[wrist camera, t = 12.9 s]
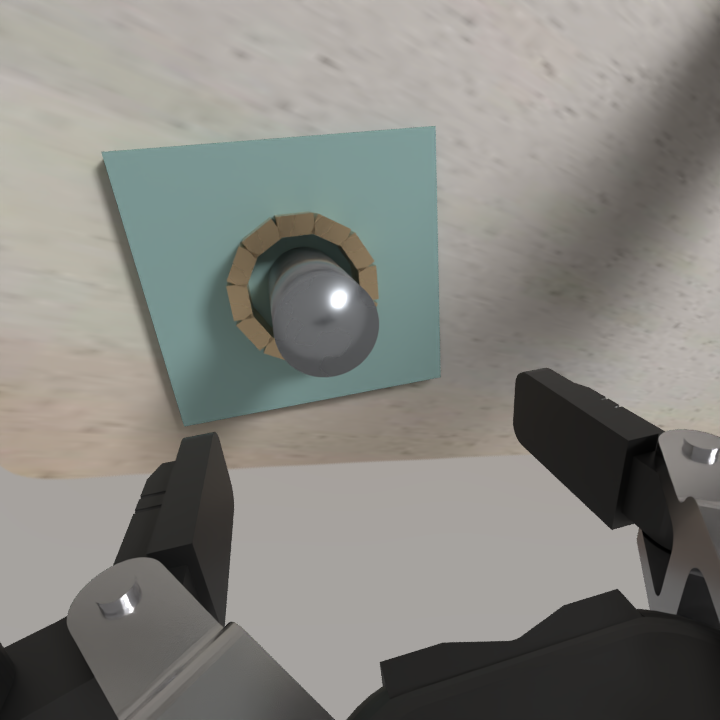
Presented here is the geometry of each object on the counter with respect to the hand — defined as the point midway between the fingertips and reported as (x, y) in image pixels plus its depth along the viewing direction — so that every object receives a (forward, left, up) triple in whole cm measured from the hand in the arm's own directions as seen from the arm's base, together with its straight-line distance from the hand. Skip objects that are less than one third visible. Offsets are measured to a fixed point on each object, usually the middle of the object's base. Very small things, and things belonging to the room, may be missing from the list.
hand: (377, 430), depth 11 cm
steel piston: (0, 0, -19) cm, 19 cm away
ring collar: (0, 0, -20) cm, 20 cm away
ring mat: (0, 0, -20) cm, 20 cm away
